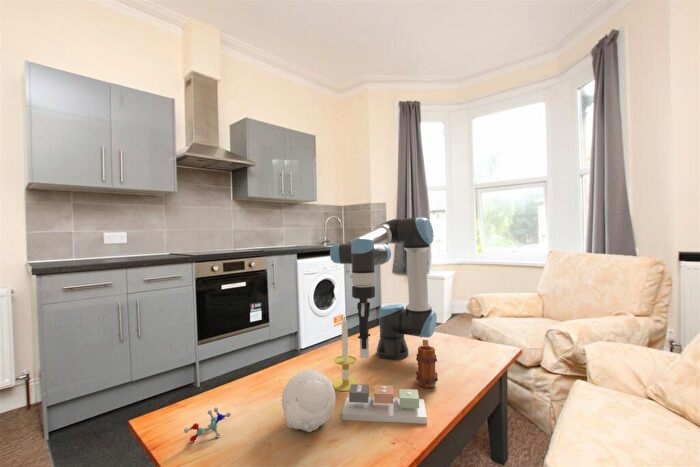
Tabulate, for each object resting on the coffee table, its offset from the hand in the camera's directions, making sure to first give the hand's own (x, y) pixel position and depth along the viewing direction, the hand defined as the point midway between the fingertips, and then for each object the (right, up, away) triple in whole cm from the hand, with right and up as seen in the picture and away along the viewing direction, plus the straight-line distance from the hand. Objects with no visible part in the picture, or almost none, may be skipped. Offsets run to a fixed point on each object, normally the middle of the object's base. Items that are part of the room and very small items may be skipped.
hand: (364, 357), depth 108 cm
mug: (+25, -17, +20) cm, 36 cm away
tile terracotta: (+6, -13, -1) cm, 15 cm away
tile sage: (+14, -14, -2) cm, 20 cm away
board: (+6, -18, -1) cm, 19 cm away
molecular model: (-45, -19, -12) cm, 50 cm away
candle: (-6, -18, +19) cm, 27 cm away
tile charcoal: (-2, -13, 0) cm, 13 cm away
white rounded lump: (-16, -18, -7) cm, 26 cm away
